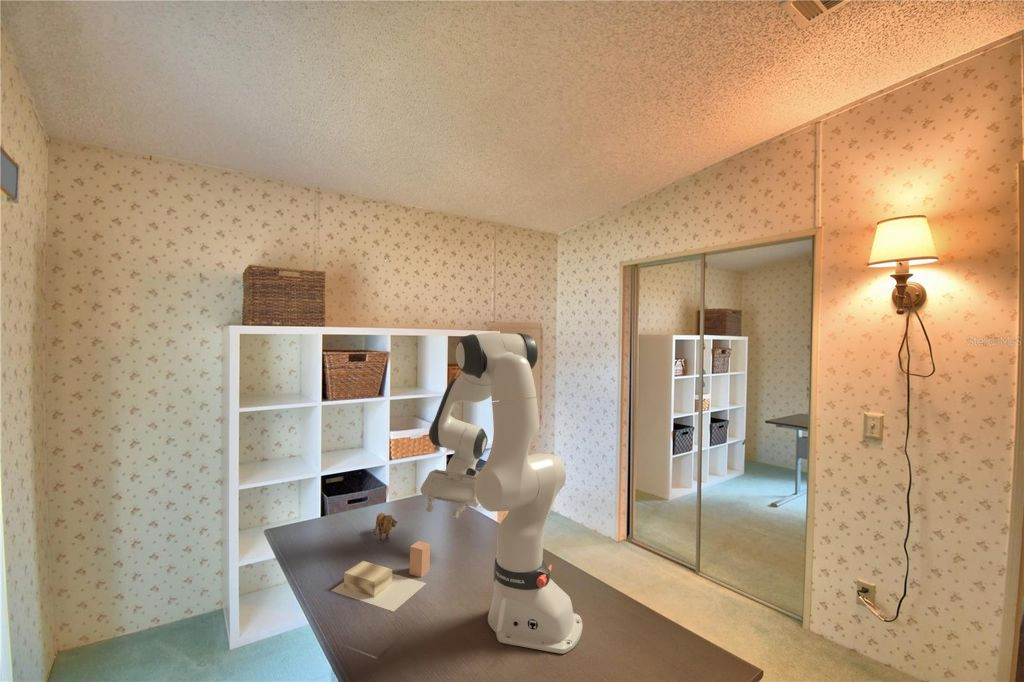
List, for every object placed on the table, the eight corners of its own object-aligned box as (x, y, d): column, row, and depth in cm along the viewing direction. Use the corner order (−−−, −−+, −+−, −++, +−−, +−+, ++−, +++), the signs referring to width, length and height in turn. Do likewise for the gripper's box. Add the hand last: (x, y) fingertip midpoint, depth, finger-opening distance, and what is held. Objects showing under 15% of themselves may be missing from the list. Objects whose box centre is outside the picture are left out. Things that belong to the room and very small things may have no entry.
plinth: (391, 584, 123) (392, 569, 123) (374, 597, 116) (374, 581, 116) (362, 575, 127) (362, 560, 127) (343, 587, 120) (344, 572, 120)
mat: (426, 584, 124) (426, 583, 124) (393, 612, 111) (393, 611, 111) (367, 567, 132) (367, 566, 132) (330, 591, 119) (330, 590, 119)
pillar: (429, 571, 130) (430, 543, 130) (421, 578, 127) (422, 549, 127) (417, 568, 132) (418, 540, 132) (409, 574, 128) (410, 546, 128)
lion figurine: (398, 543, 147) (399, 515, 147) (382, 547, 144) (382, 519, 144) (382, 526, 159) (383, 501, 159) (367, 530, 156) (368, 504, 156)
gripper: (428, 463, 150) (409, 503, 141) (483, 473, 142) (467, 515, 133) (435, 473, 154) (417, 512, 145) (489, 483, 146) (474, 525, 137)
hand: (441, 514), depth 139 cm, fingers open, 8 cm apart
